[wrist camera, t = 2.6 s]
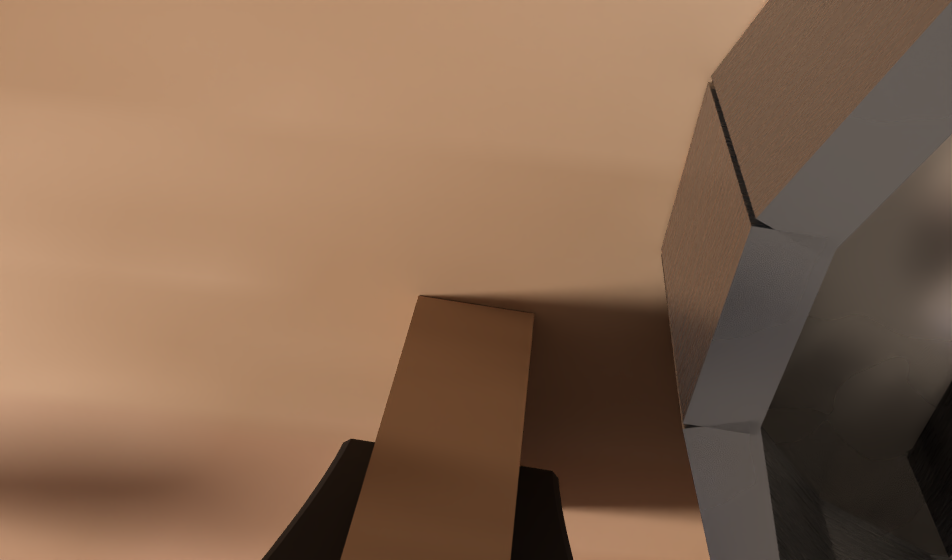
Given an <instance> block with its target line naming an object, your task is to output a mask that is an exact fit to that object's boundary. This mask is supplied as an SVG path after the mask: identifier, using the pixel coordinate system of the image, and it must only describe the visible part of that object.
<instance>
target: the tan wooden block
mask: <svg viewBox="0 0 952 560" xmlns="http://www.w3.org/2000/svg"><path fill="white" fill-rule="evenodd" d="M533 324H534V314H533V313H527V312H520V311H514V310H508V309H501V308H495V307H488V306H482V305H475V304H469V303H462V302H456V301H450V300H443V299H437V298H430V297H424V296H418V300H417V303H416V306H415V310H414V313H413V317H412V320H411V323H410V327H409V330H408V333H407V337H406V340H405V344H404V347H403V350H402V354H401V357H400V360H399V364H398V367H397V371H396V374H395V377H394V381H393V384H392V387H391V391H390V394H389V398H388V401H387V404H386V408H385V411H384V414H383V418H382V421H381V425H380V428H379V431H378V435H377V438H376V441H375V445H374V448H373V451H372V455H371V458H370V462H369V465H368V468H367V472H366V475H365V478H364V482H363V485H362V489H361V492H360V495H359V499H358V502H357V505H356V509H355V512H354V516H353V519H352V522H351V526H350V529H349V532H348V536H347V539H346V543H345V546H344V549H343V553H342V556H341V559H340V560H510V559H511V548H512V538H513V528H514V518H515V508H516V497H517V487H518V477H519V467H520V457H521V446H522V436H523V426H524V416H525V405H526V395H527V385H528V375H529V365H530V354H531V344H532V334H533Z"/></svg>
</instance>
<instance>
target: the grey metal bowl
mask: <svg viewBox="0 0 952 560" xmlns="http://www.w3.org/2000/svg"><path fill="white" fill-rule="evenodd" d="M711 77H712V80H713V83H710V82H708V85H707V88H706V92H705V95H704V99H703V103H702V106H701V110H700V113H699V117H698V120H697V124H696V128H695V131H694V135H693V138H692V142H691V145H690V149H689V153H688V156H687V160H686V163H685V167H684V170H683V174H682V178H681V181H680V185H679V188H678V192H677V195H676V199H675V203H674V206H673V210H672V213H671V217H670V221H669V224H668V228H667V231H666V235H665V238H664V242H663V246H662V249H661V250H662V254H661V256H662V265H663V273H664V281H665V289H666V298H667V306H668V314H669V322H670V330H671V339H672V347H673V355H674V363H675V372H676V380H677V388H678V396H679V405H680V413H681V421H682V429H683V434H684V439H685V443H686V448H687V453H688V457H689V462H690V467H691V471H692V476H693V481H694V485H695V490H696V495H697V499H698V504H699V509H700V513H701V518H702V523H703V527H704V532H705V537H706V541H707V546H708V551H709V555H710V560H952V0H769V1H768V2H767V4H766V5H765V6H764V8H763V9H762V10H761V11H760V13H759V14H758V15H757V17H756V18H755V19H754V21H753V22H752V23H751V25H750V26H749V27H748V29H747V30H746V31H745V32H744V34H743V35H742V36H741V38H740V39H739V40H738V42H737V43H736V44H735V46H734V47H733V48H732V50H731V51H730V52H729V53H728V55H727V56H726V57H725V59H724V60H723V61H722V63H721V64H720V65H719V67H718V68H717V69H716V71H715V72H714V73H713V74H712V76H711Z"/></svg>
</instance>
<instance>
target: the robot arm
mask: <svg viewBox="0 0 952 560" xmlns="http://www.w3.org/2000/svg"><path fill="white" fill-rule="evenodd" d="M374 445H375V442H369V441H363V440H356V439H350V440H348V441H346V442H344V443H343V444H342V446H341V448H340V450H339V452H338V453H337V455H336V457H335V459H334V460H333V462H332V463H331V465H330V467H329V468H328V470H327V472H326V473H325V475H324V476H323V478H322V479H321V481H320V482H319V484H318V485H317V487H316V488H315V490H314V491H313V492H312V494H311V495H310V497H309V498H308V500H307V501H306V502H305V504H304V505H303V507H302V508H301V509H300V511H299V512H298V514H297V515H296V516H295V517H294V519H293V520H292V521H291V523H290V524H289V525H288V527H287V528H286V529H285V530H284V532H283V533H282V534H281V536H280V537H279V538H278V540H277V541H276V542H275V543H274V545H273V546H272V547H271V549H270V550H269V551H268V552H267V554H266V555H265V556H264V557H263V559H262V560H340V559H341V556H342V553H343V549H344V546H345V543H346V539H347V536H348V532H349V529H350V526H351V522H352V519H353V516H354V512H355V509H356V505H357V502H358V499H359V495H360V492H361V489H362V485H363V482H364V478H365V475H366V472H367V468H368V465H369V462H370V458H371V455H372V451H373V448H374ZM510 560H573V556H572V552H571V548H570V544H569V540H568V535H567V531H566V526H565V521H564V516H563V511H562V505H561V498H560V491H559V480H558V477H557V476H556V475H555V474H554V472H553V471H548V470H542V469H536V468H530V467H523V466H520V467H519V477H518V487H517V497H516V508H515V518H514V528H513V538H512V548H511V559H510Z"/></svg>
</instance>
